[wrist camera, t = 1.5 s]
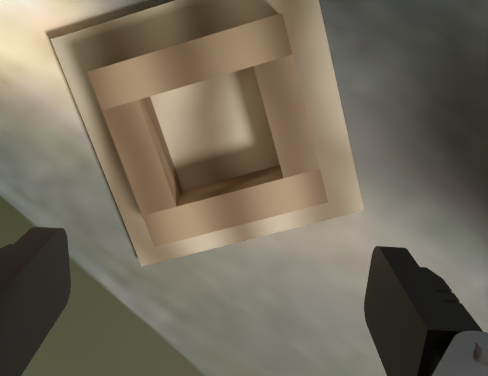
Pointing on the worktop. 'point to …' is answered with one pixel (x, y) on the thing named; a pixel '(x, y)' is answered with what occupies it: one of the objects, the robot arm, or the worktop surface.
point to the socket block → (213, 121)
